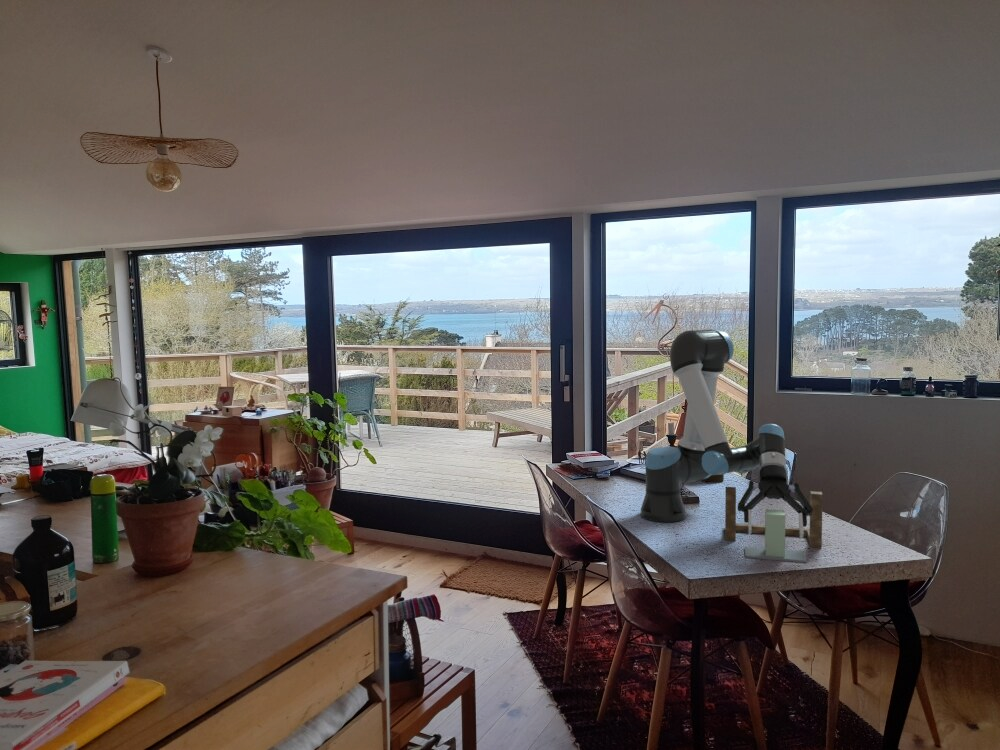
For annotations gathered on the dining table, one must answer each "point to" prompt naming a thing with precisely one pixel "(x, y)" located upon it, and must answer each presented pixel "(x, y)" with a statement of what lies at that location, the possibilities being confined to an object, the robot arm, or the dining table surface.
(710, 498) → the dining table surface
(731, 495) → the frame
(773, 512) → the tall green square pillar
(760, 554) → the mat
